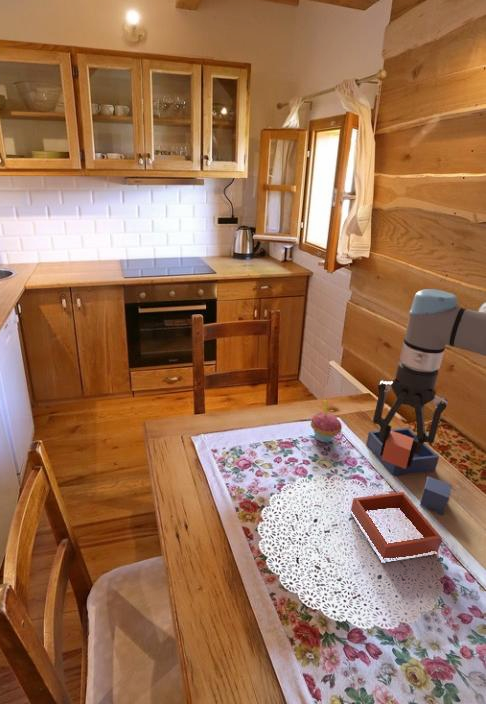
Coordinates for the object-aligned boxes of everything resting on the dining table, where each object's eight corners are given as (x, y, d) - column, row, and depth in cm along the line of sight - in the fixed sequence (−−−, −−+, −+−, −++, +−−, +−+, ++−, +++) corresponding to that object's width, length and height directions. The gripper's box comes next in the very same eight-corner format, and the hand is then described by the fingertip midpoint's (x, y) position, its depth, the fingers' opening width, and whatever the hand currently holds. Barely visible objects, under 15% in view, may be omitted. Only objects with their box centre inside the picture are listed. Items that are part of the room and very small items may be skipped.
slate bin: (435, 471, 106) (439, 457, 104) (392, 476, 103) (395, 461, 102) (405, 440, 118) (408, 427, 116) (365, 444, 115) (368, 431, 113)
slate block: (445, 501, 96) (451, 484, 94) (443, 515, 92) (449, 498, 90) (422, 492, 99) (427, 475, 97) (419, 505, 95) (424, 488, 93)
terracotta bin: (437, 554, 82) (442, 538, 81) (381, 564, 80) (386, 547, 78) (399, 506, 94) (403, 491, 92) (349, 513, 91) (353, 498, 90)
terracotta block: (409, 456, 92) (414, 438, 90) (405, 469, 88) (410, 450, 86) (386, 448, 95) (391, 430, 93) (381, 459, 91) (386, 441, 89)
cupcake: (303, 430, 120) (308, 395, 115) (328, 426, 122) (334, 392, 118) (318, 449, 112) (324, 412, 108) (345, 444, 114) (352, 408, 110)
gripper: (369, 358, 85) (351, 450, 93) (467, 385, 75) (438, 485, 84) (378, 347, 91) (360, 434, 99) (470, 371, 81) (442, 465, 90)
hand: (396, 457), depth 91 cm, fingers closed on terracotta block, 5 cm apart
